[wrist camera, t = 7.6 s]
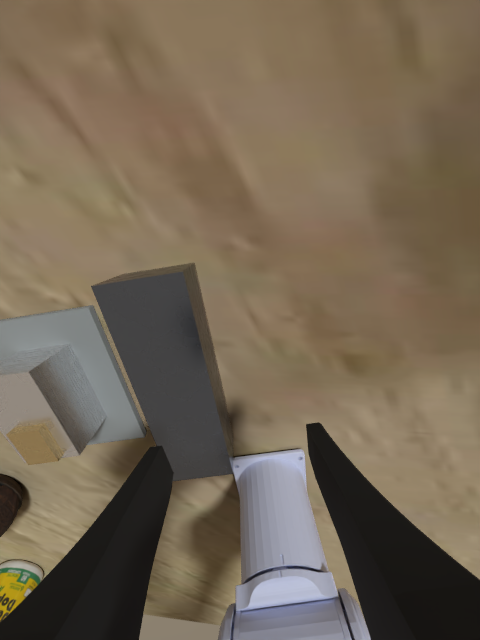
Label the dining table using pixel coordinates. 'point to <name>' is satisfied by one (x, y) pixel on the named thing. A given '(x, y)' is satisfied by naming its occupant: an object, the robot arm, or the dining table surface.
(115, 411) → the mat
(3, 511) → the mate gourd
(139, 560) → the robot arm
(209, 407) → the body
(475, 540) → the dining table surface
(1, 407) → the pale grey block
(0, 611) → the supplement bottle
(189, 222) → the dining table surface
